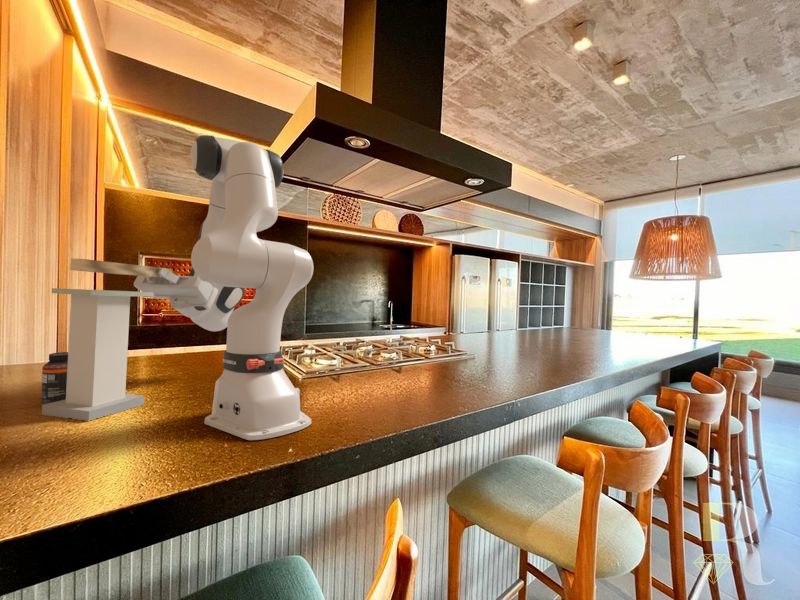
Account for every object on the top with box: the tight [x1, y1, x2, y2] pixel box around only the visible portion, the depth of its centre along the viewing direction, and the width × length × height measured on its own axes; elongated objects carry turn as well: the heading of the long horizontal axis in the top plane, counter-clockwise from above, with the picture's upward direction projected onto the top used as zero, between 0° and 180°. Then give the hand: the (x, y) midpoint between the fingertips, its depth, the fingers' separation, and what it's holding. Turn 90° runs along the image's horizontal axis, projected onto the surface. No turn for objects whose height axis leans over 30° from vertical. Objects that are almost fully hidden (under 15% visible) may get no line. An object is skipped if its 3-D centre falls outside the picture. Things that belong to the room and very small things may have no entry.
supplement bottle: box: [40, 351, 68, 406], centre depth 79 cm, size 6×6×11 cm
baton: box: [69, 258, 173, 278], centre depth 82 cm, size 22×3×2 cm, turn 168°
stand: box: [41, 287, 154, 422], centre depth 77 cm, size 14×12×26 cm
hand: (151, 270), depth 88 cm, fingers closed on baton, 3 cm apart
